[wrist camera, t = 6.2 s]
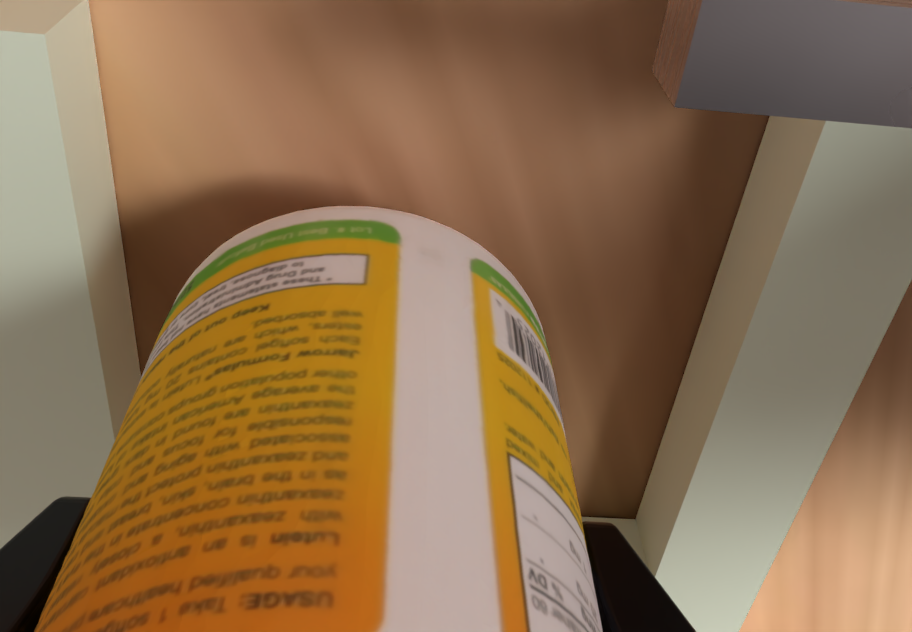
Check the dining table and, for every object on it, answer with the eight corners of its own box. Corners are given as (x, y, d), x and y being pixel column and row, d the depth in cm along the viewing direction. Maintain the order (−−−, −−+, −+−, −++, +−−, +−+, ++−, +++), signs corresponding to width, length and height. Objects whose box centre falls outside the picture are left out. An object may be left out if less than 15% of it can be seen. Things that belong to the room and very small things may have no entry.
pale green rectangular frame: (930, 76, 12) (990, 120, 10) (632, 759, 22) (645, 822, 21) (-348, -46, 10) (-453, -11, 9) (-20, 746, 21) (-48, 811, 19)
